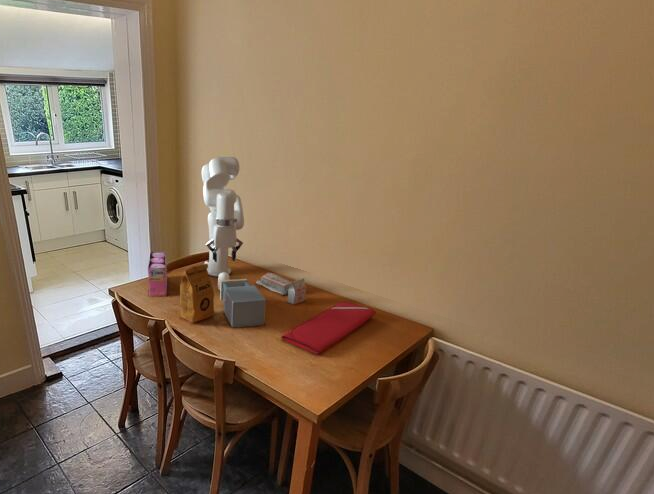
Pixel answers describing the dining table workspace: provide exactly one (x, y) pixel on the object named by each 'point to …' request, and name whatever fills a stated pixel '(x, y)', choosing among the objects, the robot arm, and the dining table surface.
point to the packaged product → (275, 283)
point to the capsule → (222, 278)
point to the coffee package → (196, 294)
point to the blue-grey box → (244, 306)
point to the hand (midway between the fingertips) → (224, 260)
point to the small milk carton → (297, 292)
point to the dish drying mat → (328, 327)
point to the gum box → (157, 274)
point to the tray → (231, 285)
